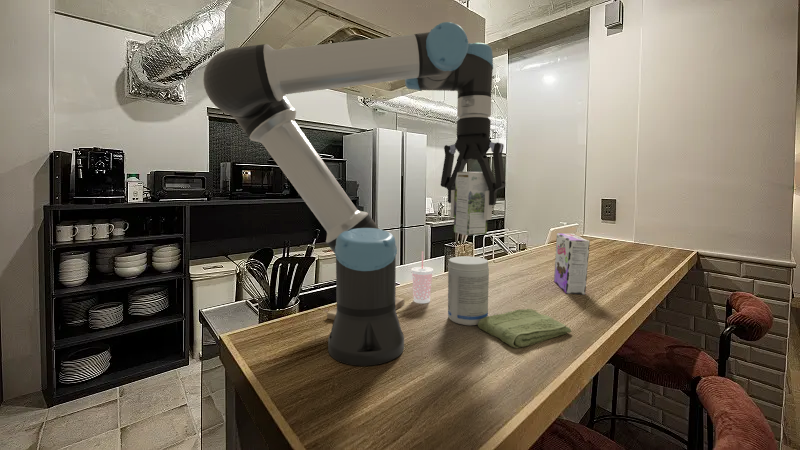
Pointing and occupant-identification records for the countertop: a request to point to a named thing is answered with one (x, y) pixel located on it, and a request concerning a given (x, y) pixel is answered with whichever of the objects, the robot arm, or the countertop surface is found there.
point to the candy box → (571, 263)
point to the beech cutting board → (332, 313)
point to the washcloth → (522, 327)
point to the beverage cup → (422, 283)
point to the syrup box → (470, 203)
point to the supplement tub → (468, 289)
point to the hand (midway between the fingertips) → (470, 218)
